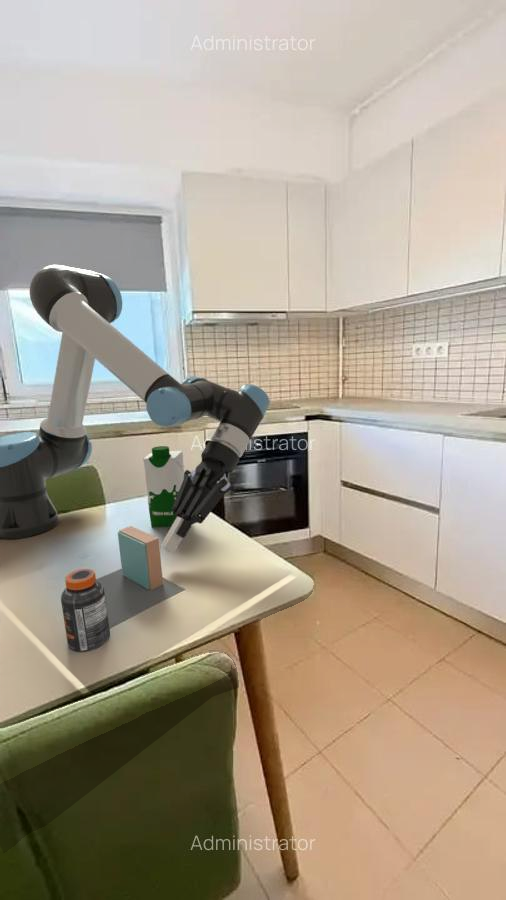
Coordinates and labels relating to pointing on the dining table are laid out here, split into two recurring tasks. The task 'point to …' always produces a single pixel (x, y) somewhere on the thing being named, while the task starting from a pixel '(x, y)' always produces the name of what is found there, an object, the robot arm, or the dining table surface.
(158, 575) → the tile
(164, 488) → the milk carton
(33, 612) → the dining table surface
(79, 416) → the robot arm
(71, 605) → the pill bottle
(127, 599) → the mat
